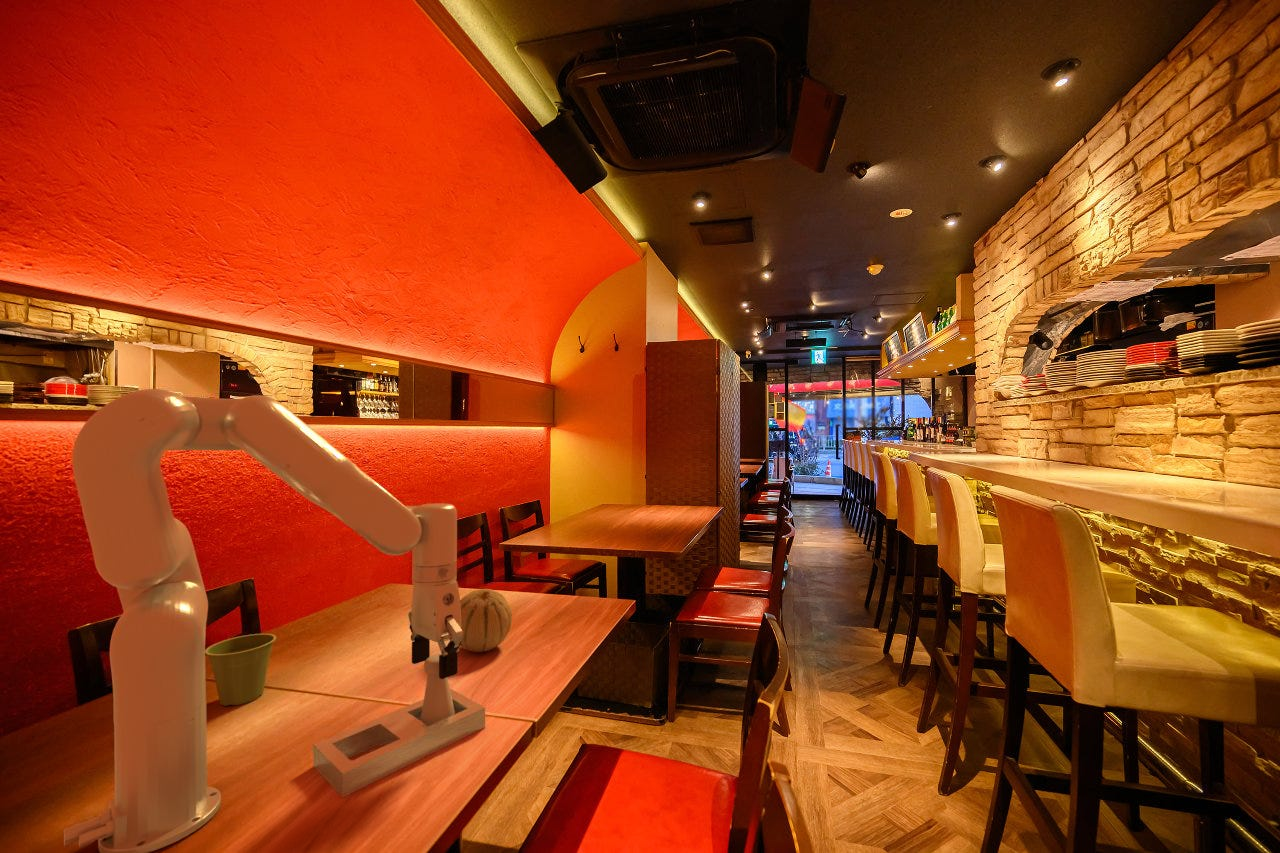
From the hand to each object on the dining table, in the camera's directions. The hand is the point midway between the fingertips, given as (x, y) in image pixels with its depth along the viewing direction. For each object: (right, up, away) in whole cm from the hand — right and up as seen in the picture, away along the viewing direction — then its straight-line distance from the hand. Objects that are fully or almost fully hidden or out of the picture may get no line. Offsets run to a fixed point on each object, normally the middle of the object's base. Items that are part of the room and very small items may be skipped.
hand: (434, 668), depth 96 cm
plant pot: (-45, -13, +14) cm, 49 cm away
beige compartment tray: (-3, -11, -5) cm, 12 cm away
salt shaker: (+1, -11, 0) cm, 11 cm away
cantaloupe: (-2, -12, +37) cm, 39 cm away
